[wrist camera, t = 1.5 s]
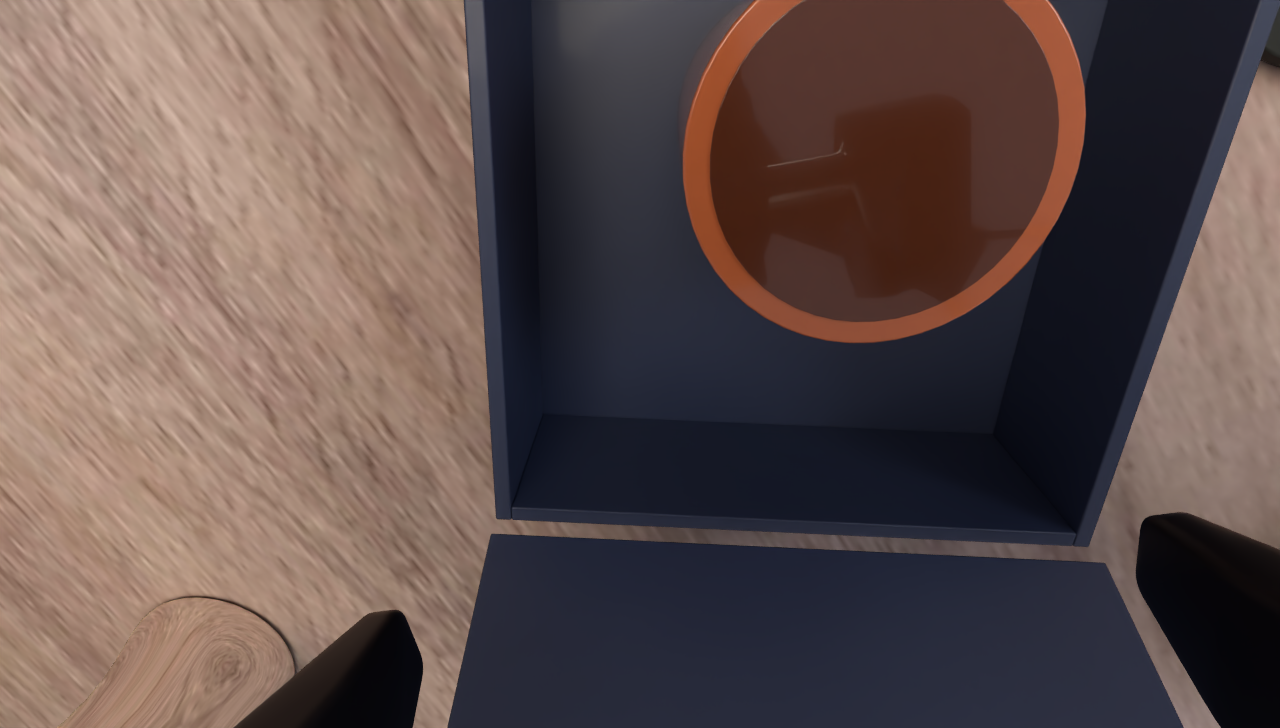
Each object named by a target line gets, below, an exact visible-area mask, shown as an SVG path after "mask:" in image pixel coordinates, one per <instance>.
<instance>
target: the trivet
mask: <svg viewBox="0 0 1280 728" xmlns="http://www.w3.org/2000/svg"><path fill="white" fill-rule="evenodd" d="M1261 60H1263V61H1266V62H1268V63H1270V64H1272V65H1275V66H1278V67H1280V6H1279V9H1278V12H1277V15H1276V18H1275V20H1274V23H1273V26H1272V29H1271V32H1270V35H1269V37H1268V40H1267V43H1266V46H1265V49H1264V52H1263V54H1262V57H1261Z"/></svg>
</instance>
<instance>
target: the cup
mask: <svg viewBox="0 0 1280 728" xmlns="http://www.w3.org/2000/svg"><path fill="white" fill-rule="evenodd" d="M1085 120H1086V107H1085V89H1084V83H1083V78H1082V73H1081V68H1080V63H1079V59H1078V56H1077V53H1076V51H1075V48H1074V45H1073V42H1072V39H1071V37H1070V34H1069V32H1068V30H1067V29H1066V27H1065V25H1064V23H1063V21H1062V19H1061V17H1060V16H1059V14H1058V12H1057V10H1056V9H1055V8H1054V6H1053V5H1052V4H1051V2H1050V1H1049V0H744V1H742V2H741V3H739V4H738V5H736V6H735V7H733V8H732V9H731V10H730V11H729V12H728V13H727V14H725V15H724V16H723V17H722V18H721V19H720V20H719V21H718V22H717V23H716V25H715V26H714V27H713V28H712V29H711V30H710V31H709V32H708V34H707V35H706V37H705V38H704V40H703V41H702V43H701V44H700V45H699V47H698V49H697V50H696V52H695V54H694V56H693V58H692V60H691V62H690V64H689V67H688V69H687V72H686V75H685V77H684V80H683V84H682V88H681V92H680V96H679V103H678V112H677V134H678V143H679V152H680V160H681V169H682V178H683V185H684V192H685V200H686V206H687V210H688V213H689V217H690V220H691V224H692V228H693V230H694V233H695V235H696V237H697V240H698V242H699V244H700V247H701V249H702V251H703V253H704V254H705V256H706V258H707V259H708V261H709V263H710V264H711V266H712V268H713V269H714V271H715V272H716V273H717V275H718V276H719V277H720V278H721V280H722V281H723V282H724V283H725V285H726V286H727V287H728V288H729V289H730V290H731V291H732V292H733V293H734V294H735V295H736V296H737V297H738V298H739V299H740V300H741V301H742V302H743V303H744V304H746V305H747V306H748V307H750V308H751V309H753V310H754V311H755V312H757V313H758V314H760V315H761V316H762V317H764V318H766V319H768V320H770V321H771V322H773V323H775V324H777V325H779V326H781V327H783V328H785V329H788V330H791V331H793V332H796V333H799V334H801V335H804V336H808V337H812V338H817V339H821V340H825V341H834V342H843V343H875V342H882V341H890V340H897V339H901V338H905V337H909V336H913V335H917V334H921V333H923V332H926V331H929V330H931V329H934V328H936V327H939V326H942V325H944V324H946V323H948V322H950V321H952V320H954V319H956V318H958V317H960V316H962V315H964V314H966V313H967V312H969V311H971V310H972V309H974V308H975V307H977V306H978V305H980V304H981V303H983V302H984V301H986V300H987V299H989V298H990V297H991V296H992V295H994V294H995V293H996V292H997V291H998V290H1000V289H1001V288H1002V287H1003V286H1004V285H1006V284H1007V283H1008V282H1009V281H1010V280H1011V279H1012V278H1013V277H1014V276H1015V275H1016V274H1017V273H1018V272H1019V271H1020V270H1021V269H1022V268H1023V267H1024V266H1025V265H1026V264H1027V263H1028V261H1029V260H1030V259H1031V257H1032V256H1033V255H1034V254H1035V252H1036V251H1037V250H1038V249H1039V247H1040V246H1041V245H1042V244H1043V242H1044V241H1045V239H1046V237H1047V236H1048V234H1049V233H1050V231H1051V229H1052V228H1053V226H1054V225H1055V223H1056V221H1057V220H1058V218H1059V216H1060V213H1061V211H1062V209H1063V207H1064V205H1065V203H1066V201H1067V199H1068V197H1069V194H1070V191H1071V189H1072V186H1073V183H1074V180H1075V177H1076V174H1077V171H1078V167H1079V162H1080V158H1081V153H1082V148H1083V143H1084V133H1085Z"/></svg>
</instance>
